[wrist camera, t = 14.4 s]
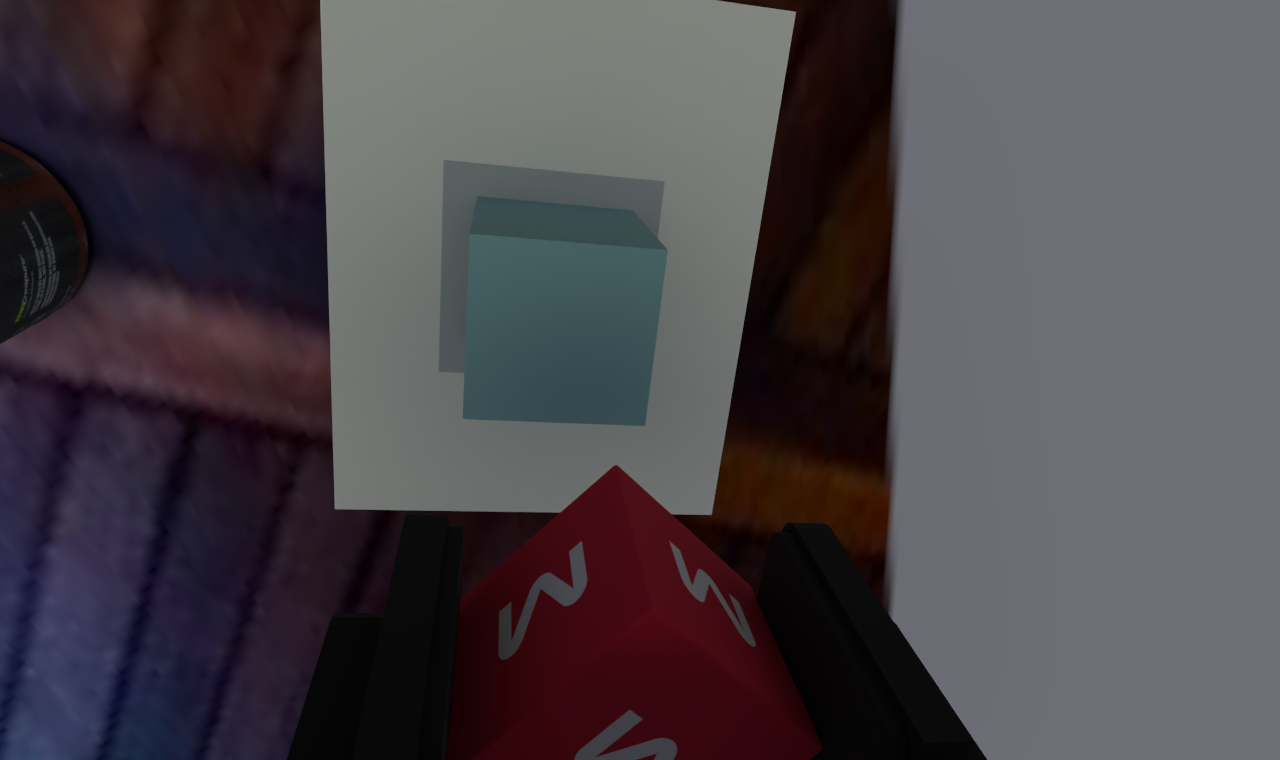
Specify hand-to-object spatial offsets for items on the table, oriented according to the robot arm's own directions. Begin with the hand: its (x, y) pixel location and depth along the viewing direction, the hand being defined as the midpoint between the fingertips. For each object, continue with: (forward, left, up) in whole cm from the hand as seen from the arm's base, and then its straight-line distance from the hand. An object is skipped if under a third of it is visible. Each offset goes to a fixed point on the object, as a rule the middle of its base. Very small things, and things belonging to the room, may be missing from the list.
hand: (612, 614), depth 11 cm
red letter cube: (0, 0, -1) cm, 1 cm away
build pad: (0, 0, -18) cm, 18 cm away
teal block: (0, 0, -17) cm, 17 cm away
